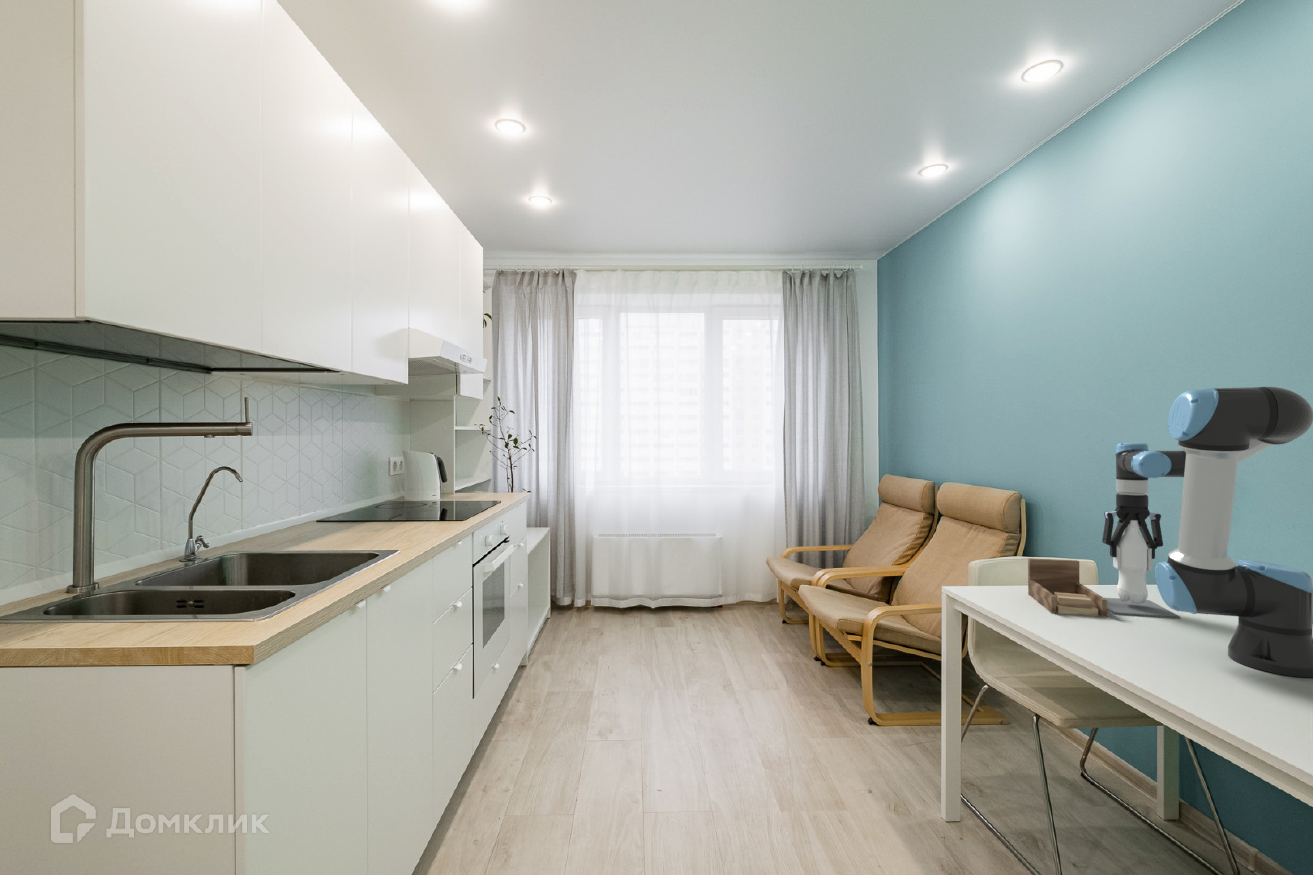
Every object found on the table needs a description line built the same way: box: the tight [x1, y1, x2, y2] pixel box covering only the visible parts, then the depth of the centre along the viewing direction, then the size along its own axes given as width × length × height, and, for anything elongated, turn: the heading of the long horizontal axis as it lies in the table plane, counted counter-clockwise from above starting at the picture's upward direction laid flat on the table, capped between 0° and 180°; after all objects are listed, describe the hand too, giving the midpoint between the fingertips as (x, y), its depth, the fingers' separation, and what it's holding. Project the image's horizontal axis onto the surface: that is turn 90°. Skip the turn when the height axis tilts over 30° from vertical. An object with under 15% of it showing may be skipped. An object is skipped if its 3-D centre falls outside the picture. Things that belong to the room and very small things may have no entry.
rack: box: [1027, 557, 1108, 617], centre depth 176 cm, size 20×14×12 cm
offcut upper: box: [1054, 592, 1092, 609], centre depth 171 cm, size 6×8×2 cm
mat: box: [1104, 597, 1181, 620], centre depth 172 cm, size 16×16×1 cm
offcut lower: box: [1056, 603, 1099, 617], centre depth 171 cm, size 7×10×2 cm
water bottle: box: [1116, 520, 1149, 604], centre depth 172 cm, size 7×7×25 cm
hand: (1132, 568), depth 172 cm, fingers closed on water bottle, 7 cm apart
